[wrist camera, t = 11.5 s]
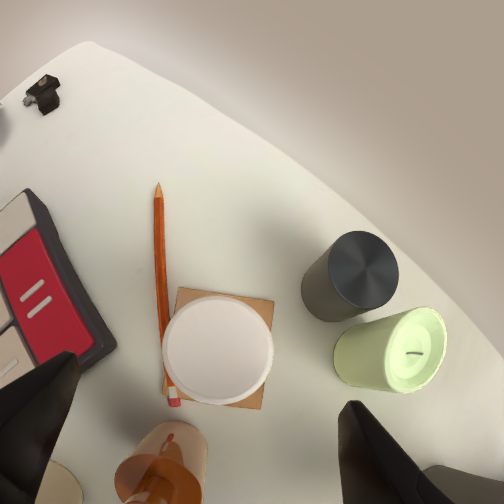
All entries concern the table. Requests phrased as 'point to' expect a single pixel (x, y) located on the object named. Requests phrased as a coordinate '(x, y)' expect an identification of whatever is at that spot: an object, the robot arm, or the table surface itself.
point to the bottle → (466, 486)
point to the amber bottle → (165, 467)
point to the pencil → (162, 283)
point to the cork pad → (259, 306)
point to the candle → (393, 351)
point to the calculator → (42, 295)
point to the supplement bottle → (217, 350)
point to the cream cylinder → (59, 487)
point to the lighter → (44, 94)
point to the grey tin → (350, 277)
